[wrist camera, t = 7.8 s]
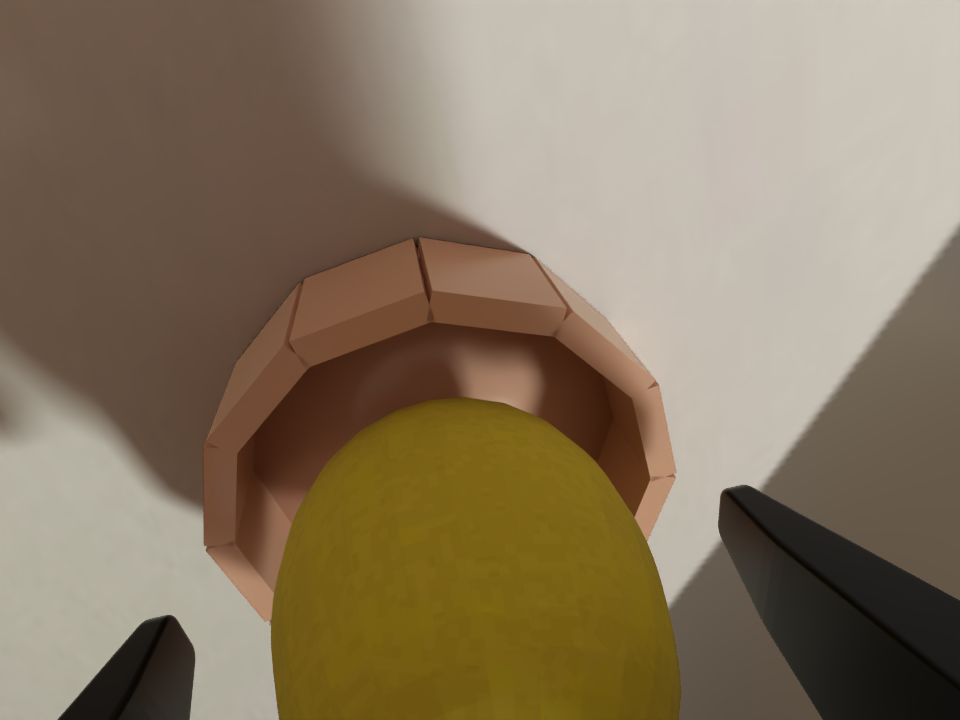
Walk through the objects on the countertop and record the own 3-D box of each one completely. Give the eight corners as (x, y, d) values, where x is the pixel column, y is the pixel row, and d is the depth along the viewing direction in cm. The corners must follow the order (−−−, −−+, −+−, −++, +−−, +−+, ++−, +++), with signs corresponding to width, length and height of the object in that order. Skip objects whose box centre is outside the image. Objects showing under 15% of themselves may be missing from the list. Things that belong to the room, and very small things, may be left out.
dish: (565, 570, 16) (595, 656, 14) (229, 563, 14) (203, 662, 12) (675, 276, 12) (741, 331, 10) (238, 209, 10) (202, 259, 8)
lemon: (238, 417, 11) (51, 995, 4) (492, 271, 11) (728, 649, 4) (392, 584, 14) (429, 1114, 7) (602, 471, 14) (862, 912, 7)
